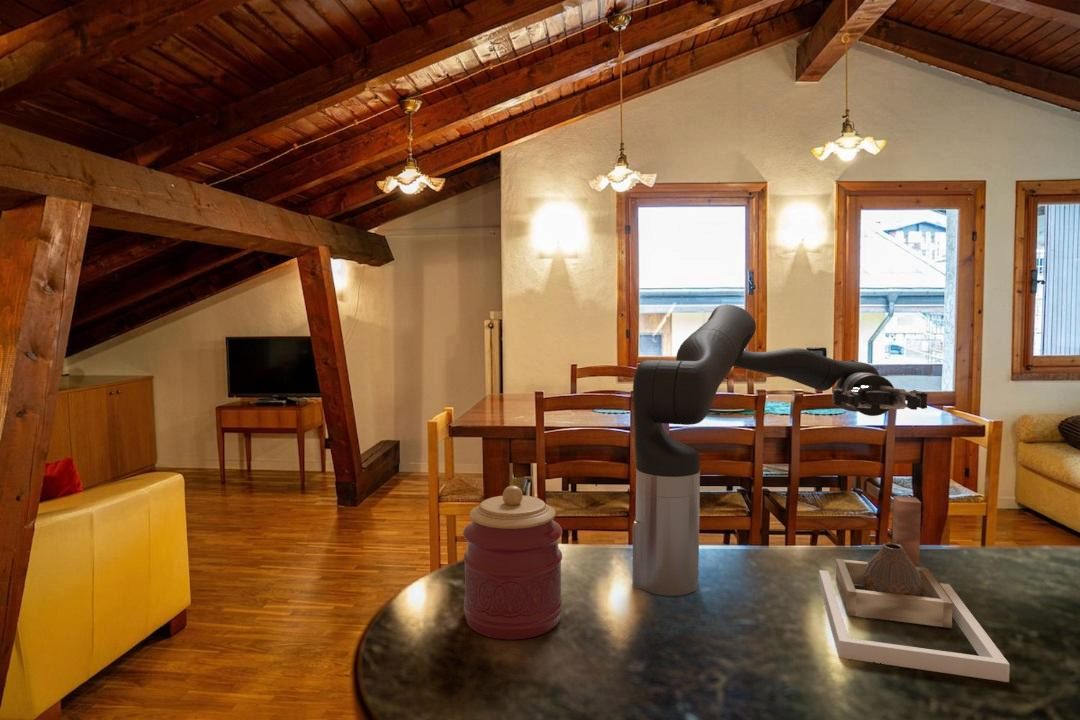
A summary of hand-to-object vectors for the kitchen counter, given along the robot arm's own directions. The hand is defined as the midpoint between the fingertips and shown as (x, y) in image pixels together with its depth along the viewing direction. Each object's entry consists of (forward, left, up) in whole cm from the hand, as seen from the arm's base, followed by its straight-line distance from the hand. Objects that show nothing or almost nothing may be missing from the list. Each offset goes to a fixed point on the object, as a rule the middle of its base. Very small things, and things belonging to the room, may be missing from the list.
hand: (885, 402), depth 105 cm
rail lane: (-2, -26, -26) cm, 36 cm away
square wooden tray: (-2, -17, -25) cm, 31 cm away
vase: (-2, -21, -26) cm, 34 cm away
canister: (-50, -39, -26) cm, 69 cm away
